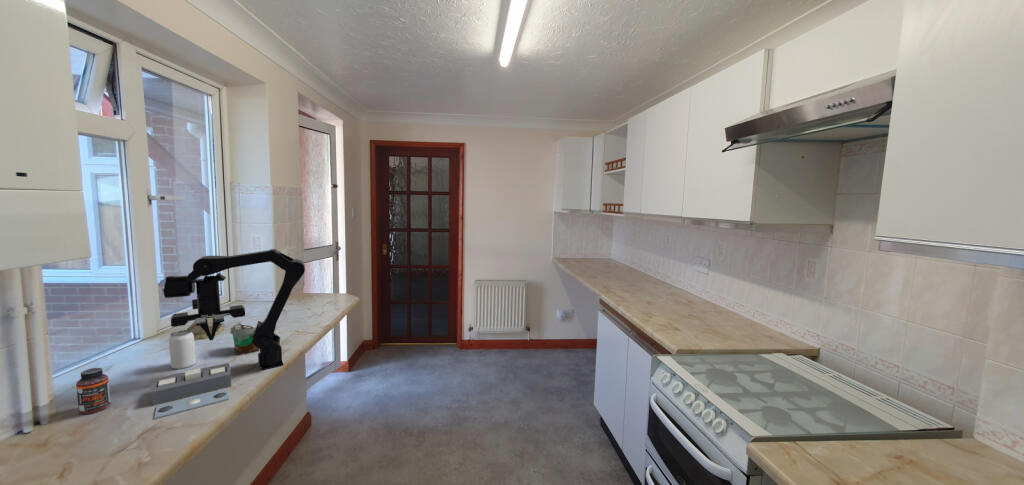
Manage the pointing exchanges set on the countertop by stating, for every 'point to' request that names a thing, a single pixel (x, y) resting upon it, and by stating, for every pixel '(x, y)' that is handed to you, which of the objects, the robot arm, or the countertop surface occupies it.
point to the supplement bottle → (93, 391)
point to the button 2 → (217, 370)
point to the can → (182, 349)
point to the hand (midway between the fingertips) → (211, 340)
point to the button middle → (193, 374)
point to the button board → (190, 385)
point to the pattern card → (191, 403)
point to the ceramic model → (200, 333)
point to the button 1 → (167, 382)
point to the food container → (243, 338)
